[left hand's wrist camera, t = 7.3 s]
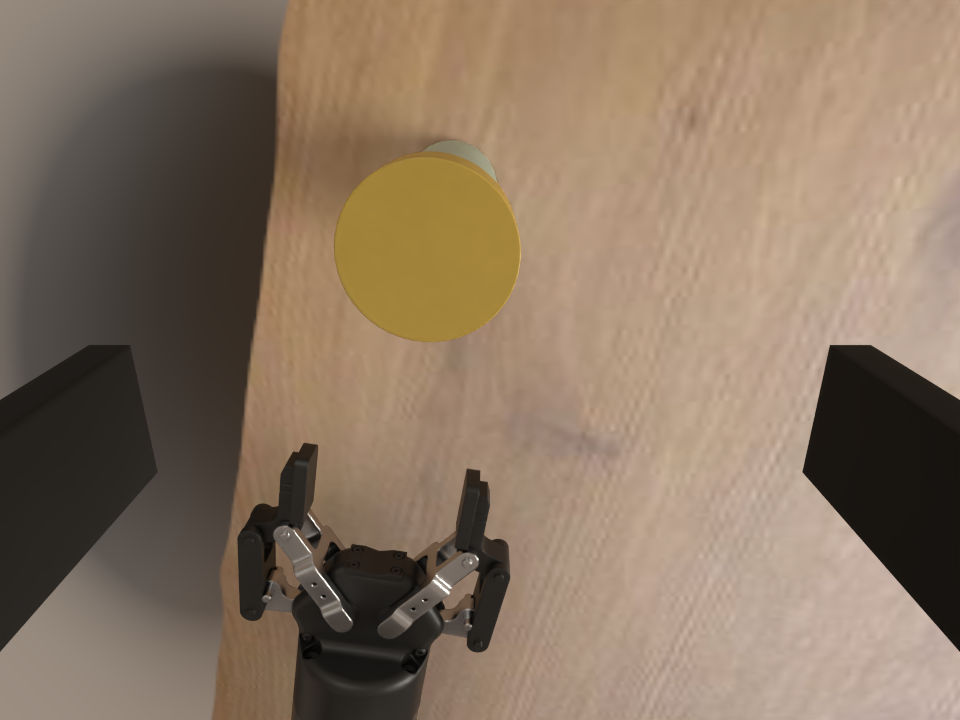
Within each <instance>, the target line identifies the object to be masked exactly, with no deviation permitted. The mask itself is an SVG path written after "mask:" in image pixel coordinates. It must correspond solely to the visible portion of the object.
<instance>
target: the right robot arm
mask: <svg viewBox="0 0 960 720" xmlns="http://www.w3.org/2000/svg"><path fill="white" fill-rule="evenodd" d="M317 456H318V445H315V444H309V443H304V444H303V445H302V447H301V449H300V451H299V452H293V453H292V455H291V456H290V458H289V460H288V462H287V463H286V465H285V467H284V469H283V471H282V473H281V478H280V493H279V506H277V507H271V506H270V505H268V504H258V505H256V506H255V507H254V509H253V511H252V513H251V516H250V518H249V520H248V521H247V523H246V525H245V527H244V528H243V529H242V530H241V532H240V534H239V536H238V567H239V595H240V613H241V615H242V617H244V618H245V619H247V620H250V621H256V620H258V619H260V618H261V617H262V614H263V612H264V610H272V611H283V612H292V614H293V616H294V618H295V620H296V621H297V624H298V626H299V638H298V650H297V661H296V672H295V682H294V694H293V705H292V716H291V720H416V719H417V713H418V708H419V705H420V699H421V693H422V687H423V682H424V677H425V672H426V667H427V662H428V657H429V651H430V647H431V644H432V643H433V642H434V640H435V639H437V638H438V637H439V636H440V634H441V633H444V634H449V635H454V636H460V637H465V638H467V646H468V648H469V649H470V650H471V651H473V652H483V651H485V650H486V649H487V648H488V646H489V643H490V640H491V636H492V633H493V630H494V627H495V624H496V621H497V618H498V615H499V612H500V608H501V605H502V602H503V599H504V596H505V593H506V590H507V587H508V583H509V580H510V566H509V547H508V544H507V543H506V542H505V541H504V540H501V539H495V540H490V539H488V538H487V537H485V536H484V531H485V526H486V521H487V517H488V512H489V507H490V490H489V486H488V482H483V481H480V470H473V469H467V470H466V475H465V480H464V485H463V491H462V496H461V501H460V506H459V511H458V516H457V522H456V531H455V532H454V533H453V534H451V535H450V536H449V537H447V538H446V539H445V540H444V541H442V542H441V543H438V542H435V543H433V544H432V545H430V546H429V547H428V548H426V549H425V550H424V551H423V552H421V553H420V554H419V555H417V556H416V557H415V558H414V559H411V558H409V557H407V552H402V551H396V550H390V551H377V550H375V549H372V548H369V547H367V546H361V545H354V544H352V545H351V548H349V549H345V547H344V546H343V545H342V543H341V542H340V541H339V539H338V538H337V536H336V535H335V534H334V532H333V531H332V530H331V528H330V527H329V526H323V525H322V524H321V523H320V521H319V520H318V519H317V517H316V516H315V515H314V513H313V512H312V510H311V509H310V507H311V505H312V503H313V499H314V488H315V477H316V467H317ZM275 541H276V542H277V543H278V545H279V546H280V547H281V549H282V550H283V551H284V552H285V554H286V555H287V556H288V558H289V559H290V560H291V562H292V563H293V570H294V574H295V576H296V578H297V579H298V580H299V582H300V583H301V584H300V585H299V587H298V588H294V587H292V586H290V585H289V584H288V583H287V581H286V577H285V575H284V574H283V568H282V567H279V566H277V567H276V549H275ZM323 561H325V563H324V564H323ZM474 570H475V571H478V572H480V573H479V576H478V579H477V583H476V586H475V589H474V593H473V595H472V594H466V595H465V598H464V599H462V600H460V602H459V603H458V605H457V606H456V607H455V608H453V609H445V607H444V604H443V602H442V600H443V599H444V598H446V596H447V595H448V594H449V592H450V590H451V588H452V587H453V586H454V585H455V584H456V583H457V582H459V581H460V580H462V579H463V578H464V577H466V576H467V575H468V574H470V573H471V572H472V571H474Z"/></svg>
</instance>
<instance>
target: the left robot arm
mask: <svg viewBox="0 0 960 720" xmlns="http://www.w3.org/2000/svg"><path fill="white" fill-rule="evenodd" d="M156 473H157V468H156V463H155V458H154V454H153V449H152V445H151V440H150V435H149V431H148V426H147V422H146V417H145V412H144V408H143V403H142V398H141V394H140V389H139V385H138V380H137V375H136V371H135V366H134V362H133V357H132V352H131V348H130V345H89V346H87V347H85V348H84V349H82V350H80V351H79V352H77V353H76V354H74V355H72V356H71V357H69V358H68V359H66V360H64V361H63V362H61V363H59V364H58V365H56V366H55V367H53V368H51V369H50V370H48V371H47V372H45V373H43V374H42V375H40V376H38V377H37V378H35V379H34V380H32V381H30V382H29V383H27V384H25V385H24V386H22V387H20V388H19V389H17V390H16V391H14V392H12V393H11V394H9V395H8V396H6V397H4V398H3V399H1V400H0V651H1V650H2V649H3V648H4V647H5V646H6V644H7V643H8V642H9V641H10V640H11V639H12V638H13V636H14V635H15V634H16V633H17V632H18V631H19V630H20V628H21V627H22V626H23V625H24V624H25V623H26V622H27V620H28V619H29V618H30V617H31V616H32V615H33V614H34V612H35V611H36V610H37V609H38V608H39V607H40V606H41V604H42V603H43V602H44V601H45V600H46V599H47V598H48V596H49V595H50V594H51V593H52V592H53V591H54V590H55V589H56V587H57V586H58V585H59V584H60V583H61V582H62V581H63V579H64V578H65V577H66V576H67V575H68V574H69V573H70V571H71V570H72V569H73V568H74V567H75V566H76V565H77V563H78V562H79V561H80V560H81V559H82V558H83V557H84V555H85V554H86V553H87V552H88V551H89V550H90V549H91V547H92V546H93V545H94V544H95V543H96V542H97V541H98V539H99V538H100V537H101V536H102V535H103V534H104V533H105V531H106V530H107V529H108V528H109V527H110V526H111V525H112V523H113V522H114V521H115V520H116V519H117V518H118V517H119V515H120V514H121V513H122V512H123V511H124V510H125V509H126V507H127V506H128V505H129V504H130V503H131V502H132V501H133V499H134V498H135V497H136V496H137V495H138V494H139V493H140V492H141V490H142V489H143V488H144V487H145V486H146V485H147V484H148V482H149V481H150V480H151V479H152V478H153V477H154V475H155V474H156ZM803 473H804V474H805V476H806V477H807V478H808V479H809V480H810V481H811V482H812V484H813V485H814V486H815V487H816V488H817V489H818V490H819V492H820V493H821V494H822V495H823V496H824V497H825V498H826V500H827V501H828V502H829V503H830V504H831V505H832V506H833V507H834V509H835V510H836V511H837V512H838V513H839V514H840V515H841V517H842V518H843V519H844V520H845V521H846V522H847V523H848V525H849V526H850V527H851V528H852V529H853V530H854V531H855V533H856V534H857V535H858V536H859V537H860V538H861V539H862V541H863V542H864V543H865V544H866V545H867V546H868V547H869V549H870V550H871V551H872V552H873V553H874V554H875V555H876V557H877V558H878V559H879V560H880V561H881V562H882V563H883V565H884V566H885V567H886V568H887V569H888V570H889V571H890V573H891V574H892V575H893V576H894V577H895V578H896V579H897V581H898V582H899V583H900V584H901V585H902V586H903V587H904V589H905V590H906V591H907V592H908V593H909V594H910V595H911V597H912V598H913V599H914V600H915V601H916V602H917V603H918V604H919V606H920V607H921V608H922V609H923V610H924V611H925V612H926V614H927V615H928V616H929V617H930V618H931V619H932V620H933V622H934V623H935V624H936V625H937V626H938V627H939V628H940V630H941V631H942V632H943V633H944V634H945V635H946V636H947V638H948V639H949V640H950V641H951V642H952V643H953V644H954V646H955V647H956V648H957V649H958V650H959V651H960V400H959V399H957V398H956V397H954V396H952V395H951V394H949V393H948V392H946V391H944V390H943V389H941V388H940V387H938V386H936V385H935V384H933V383H931V382H930V381H928V380H927V379H925V378H923V377H922V376H920V375H918V374H917V373H915V372H914V371H912V370H910V369H909V368H907V367H905V366H904V365H902V364H901V363H899V362H897V361H896V360H894V359H892V358H891V357H889V356H888V355H886V354H884V353H883V352H881V351H880V350H878V349H876V348H875V347H873V346H871V345H830V348H829V352H828V357H827V361H826V366H825V371H824V375H823V380H822V385H821V389H820V394H819V398H818V403H817V408H816V412H815V417H814V422H813V426H812V431H811V435H810V440H809V445H808V449H807V454H806V458H805V463H804V468H803Z"/></svg>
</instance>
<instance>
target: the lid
mask: <svg viewBox="0 0 960 720" xmlns="http://www.w3.org/2000/svg"><path fill="white" fill-rule="evenodd" d="M334 254H335V262H336V267H337V272H338V275H339V277H340V280H341V283H342V285H343V287H344V289H345V291H346V293H347V295H348V296H349V298H350V299H351V301H352V302H353V304H354V305H355V306H356V307H357V308H358V310H359V311H360V312H361V313H362V314H363V315H364V316H365V317H367V318H368V319H369V320H370V321H371V322H373V323H374V324H375V325H377V326H378V327H380V328H382V329H383V330H385V331H387V332H389V333H391V334H394V335H396V336H399V337H402V338H405V339H409V340H414V341H421V342H439V341H447V340H451V339H456V338H459V337H462V336H464V335H467V334H469V333H471V332H473V331H475V330H477V329H479V328H480V327H481V326H483V325H484V324H486V323H487V322H488V321H489V320H491V319H492V318H493V317H494V316H495V315H496V314H497V313H498V312H499V310H500V309H501V308H502V307H503V306H504V304H505V303H506V301H507V299H508V298H509V296H510V294H511V292H512V290H513V288H514V286H515V283H516V280H517V277H518V273H519V267H520V260H521V246H520V237H519V232H518V228H517V224H516V220H515V217H514V213H513V210H512V208H511V205H510V203H509V201H508V199H507V197H506V195H505V193H504V192H503V190H502V189H501V187H500V186H499V185H498V183H497V182H496V181H495V180H494V179H493V178H492V177H491V176H490V175H489V174H488V173H487V172H486V171H484V170H483V169H482V168H481V167H479V166H477V165H476V164H474V163H473V162H471V161H469V160H467V159H464V158H462V157H460V156H456V155H453V154H450V153H443V152H430V151H426V152H417V153H412V154H408V155H405V156H402V157H399V158H397V159H395V160H393V161H391V162H389V163H388V164H386V165H384V166H383V167H381V168H379V169H378V170H376V171H375V172H373V173H372V174H370V175H369V176H368V177H367V178H365V179H364V180H363V181H362V182H361V183H360V184H359V185H358V186H357V187H356V188H355V189H354V191H353V192H352V193H351V195H350V196H349V198H348V199H347V201H346V203H345V205H344V207H343V209H342V210H341V213H340V216H339V219H338V222H337V226H336V231H335V239H334Z"/></svg>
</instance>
